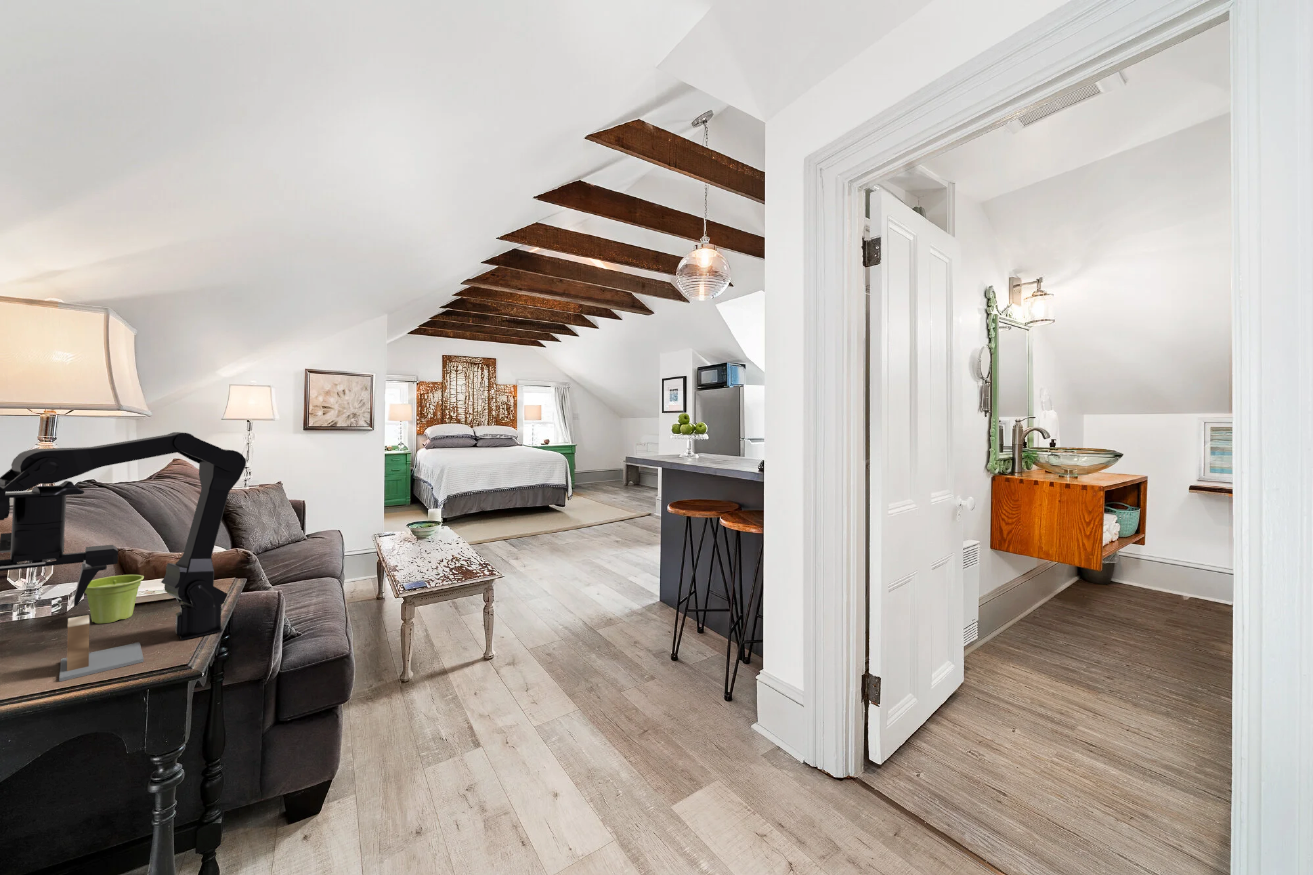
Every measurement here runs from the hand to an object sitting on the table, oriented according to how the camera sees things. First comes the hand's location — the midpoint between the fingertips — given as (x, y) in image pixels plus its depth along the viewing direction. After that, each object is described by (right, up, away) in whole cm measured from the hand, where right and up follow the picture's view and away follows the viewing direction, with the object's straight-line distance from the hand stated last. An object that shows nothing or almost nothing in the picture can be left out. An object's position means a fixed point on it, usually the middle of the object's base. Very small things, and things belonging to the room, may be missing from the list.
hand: (34, 611), depth 85 cm
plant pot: (-15, -11, +25) cm, 31 cm away
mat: (+5, -12, +6) cm, 14 cm away
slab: (+3, -11, +4) cm, 12 cm away
